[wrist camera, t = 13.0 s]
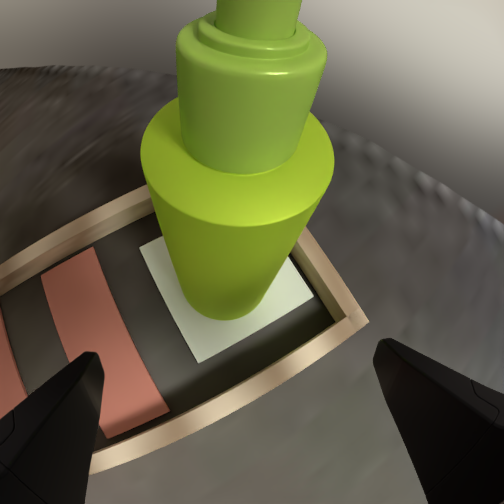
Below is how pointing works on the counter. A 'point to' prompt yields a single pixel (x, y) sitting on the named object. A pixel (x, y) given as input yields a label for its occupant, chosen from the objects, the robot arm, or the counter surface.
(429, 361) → the robot arm
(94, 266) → the mats
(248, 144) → the soap dispenser
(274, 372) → the frame
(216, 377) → the counter surface
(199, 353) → the pad
